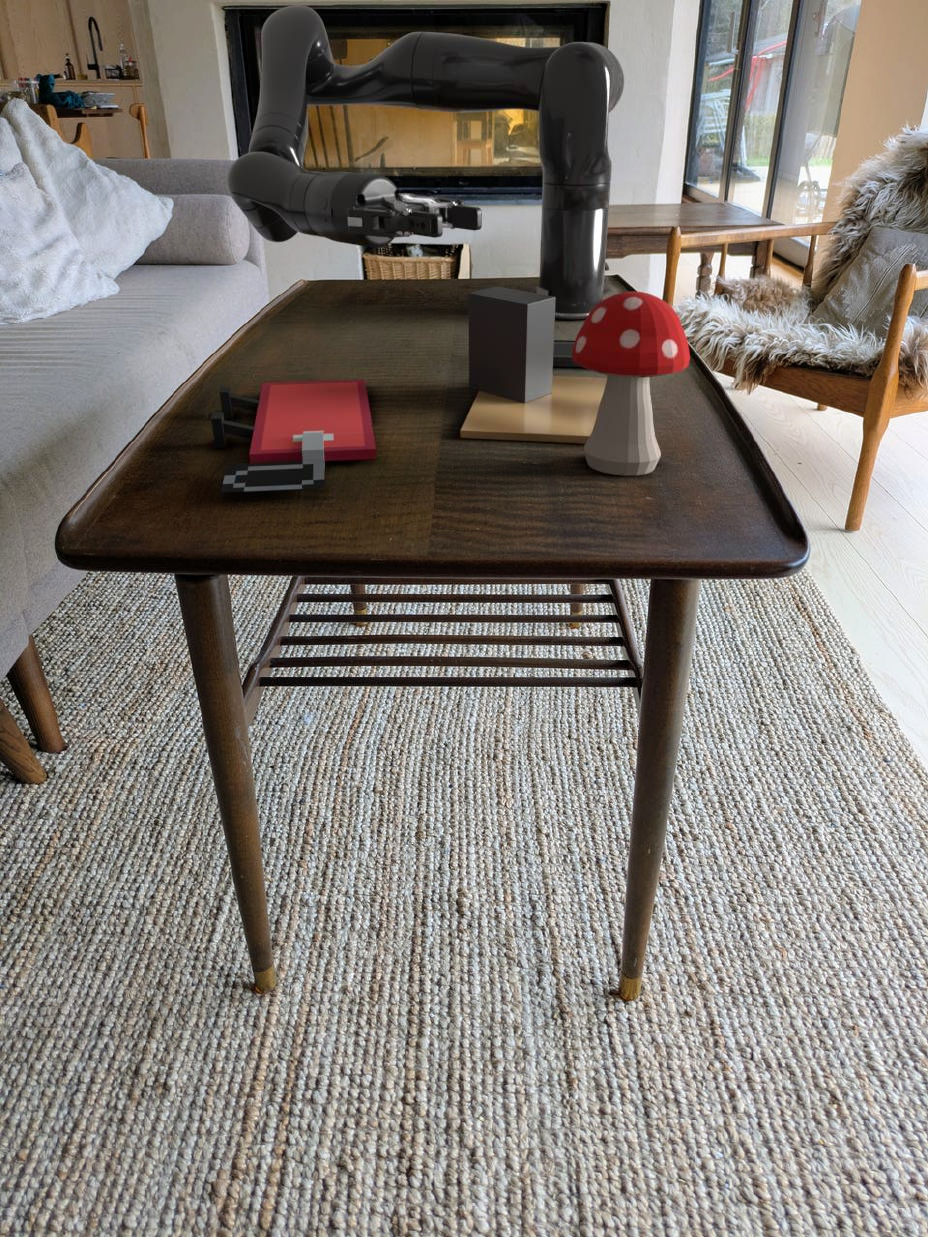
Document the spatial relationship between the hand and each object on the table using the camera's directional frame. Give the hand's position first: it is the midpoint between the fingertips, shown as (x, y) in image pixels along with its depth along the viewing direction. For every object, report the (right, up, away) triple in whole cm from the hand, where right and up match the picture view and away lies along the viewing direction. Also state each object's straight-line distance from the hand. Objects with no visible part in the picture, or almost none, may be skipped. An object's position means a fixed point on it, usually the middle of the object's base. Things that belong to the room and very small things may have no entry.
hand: (459, 222), depth 94 cm
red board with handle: (-16, -24, -6) cm, 29 cm away
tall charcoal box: (+5, -16, +4) cm, 18 cm away
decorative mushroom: (+15, -28, -12) cm, 33 cm away
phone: (+16, -9, +17) cm, 25 cm away
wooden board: (+10, -19, +1) cm, 22 cm away
